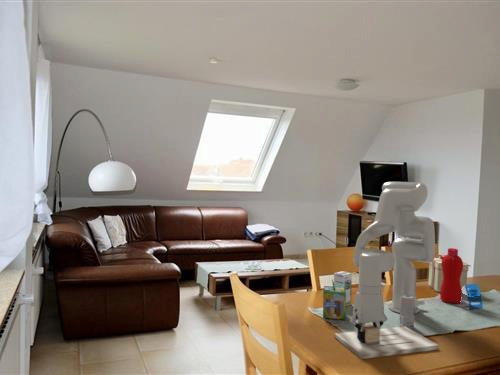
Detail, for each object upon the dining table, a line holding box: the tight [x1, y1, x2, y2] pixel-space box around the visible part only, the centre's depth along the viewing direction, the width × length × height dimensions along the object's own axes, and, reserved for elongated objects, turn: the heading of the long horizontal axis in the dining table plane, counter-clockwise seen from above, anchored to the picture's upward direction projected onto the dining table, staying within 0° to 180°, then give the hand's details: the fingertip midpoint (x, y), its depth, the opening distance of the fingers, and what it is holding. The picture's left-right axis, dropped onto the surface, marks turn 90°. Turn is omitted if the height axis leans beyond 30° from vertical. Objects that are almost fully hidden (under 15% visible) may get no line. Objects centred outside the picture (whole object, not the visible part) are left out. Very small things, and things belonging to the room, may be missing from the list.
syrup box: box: [333, 270, 353, 307], centre depth 194 cm, size 6×6×14 cm
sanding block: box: [356, 323, 381, 345], centre depth 149 cm, size 7×4×5 cm, turn 17°
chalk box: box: [322, 279, 347, 321], centre depth 178 cm, size 9×9×15 cm
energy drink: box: [398, 295, 415, 330], centre depth 167 cm, size 5×5×12 cm
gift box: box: [427, 254, 471, 293], centre depth 223 cm, size 17×18×17 cm
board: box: [334, 326, 440, 360], centre depth 151 cm, size 30×18×2 cm, turn 107°
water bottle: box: [439, 247, 463, 304], centre depth 201 cm, size 9×11×25 cm
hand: (368, 340), depth 149 cm, fingers closed on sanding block, 4 cm apart
